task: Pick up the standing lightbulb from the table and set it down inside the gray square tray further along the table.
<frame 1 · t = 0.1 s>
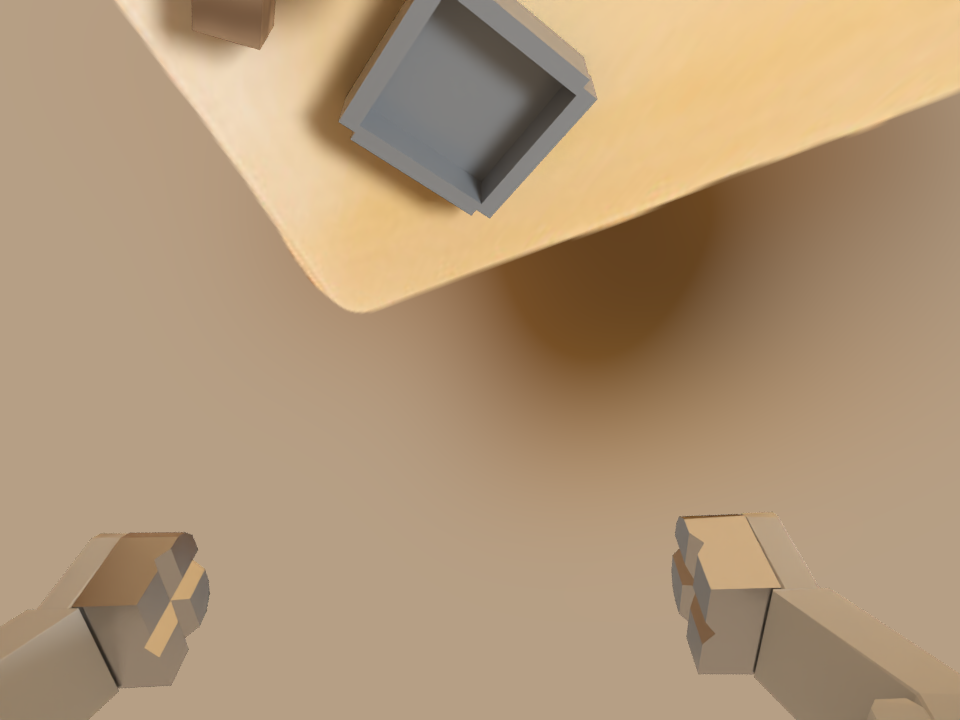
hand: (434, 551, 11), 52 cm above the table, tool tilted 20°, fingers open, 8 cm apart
gray square tray: (466, 86, 58), on the table
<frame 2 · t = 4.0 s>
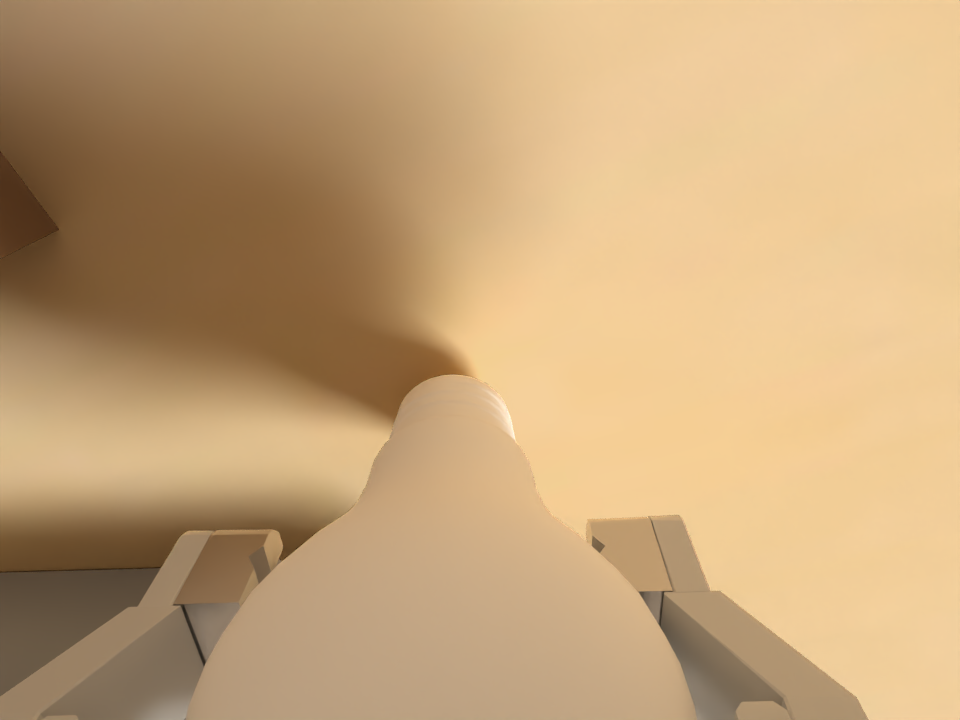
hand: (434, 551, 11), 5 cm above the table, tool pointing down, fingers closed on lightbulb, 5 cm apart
lightbulb: (454, 399, 15), on the table, touching gripper
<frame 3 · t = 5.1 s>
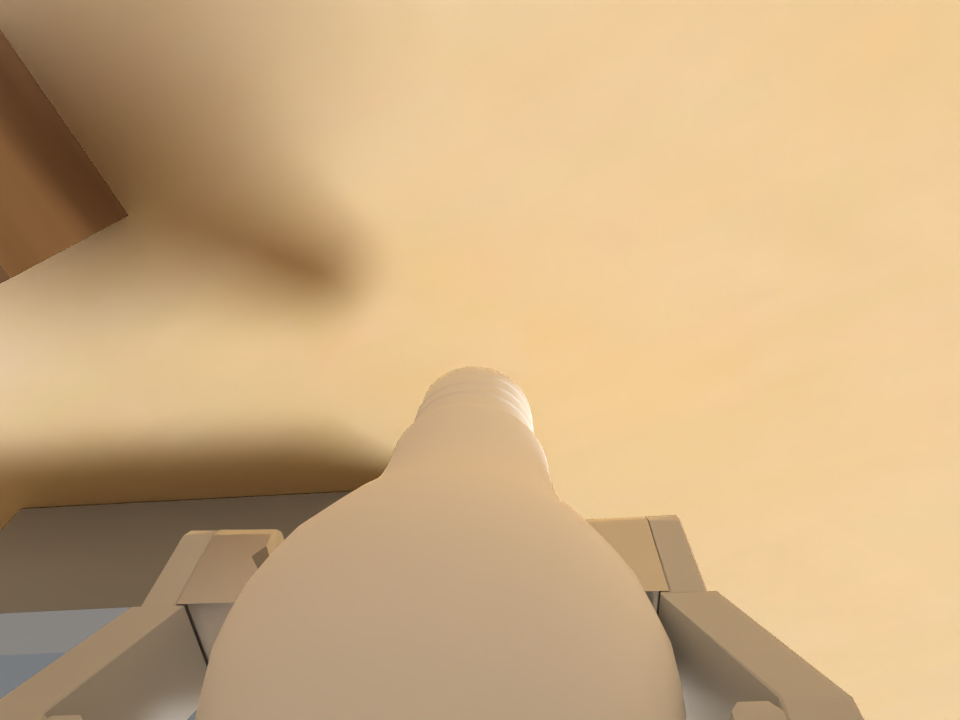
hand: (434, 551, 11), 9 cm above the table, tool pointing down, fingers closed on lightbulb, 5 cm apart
lightbulb: (478, 392, 16), point 3 cm above the table, touching gripper
gray square tray: (286, 664, 25), on the table
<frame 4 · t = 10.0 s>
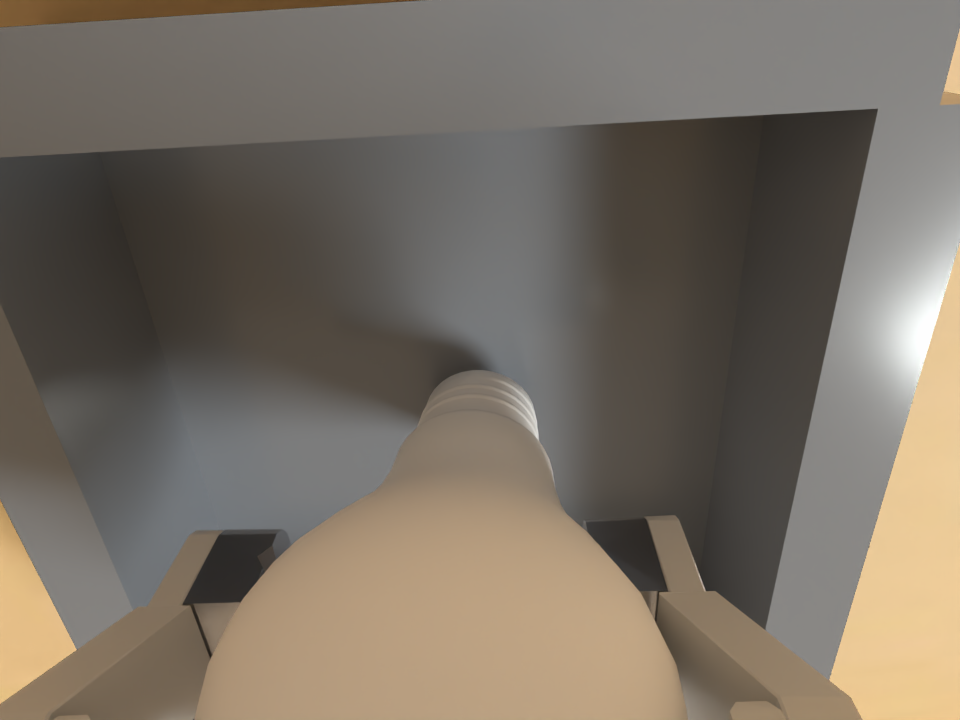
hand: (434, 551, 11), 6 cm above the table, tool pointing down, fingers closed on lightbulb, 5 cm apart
lightbulb: (482, 394, 16), resting on gray square tray, touching gripper
gray square tray: (449, 381, 16), on the table
when the fingers open (6 cm above the table, at t = 10.4 s): lightbulb stays where it is, resting on gray square tray.
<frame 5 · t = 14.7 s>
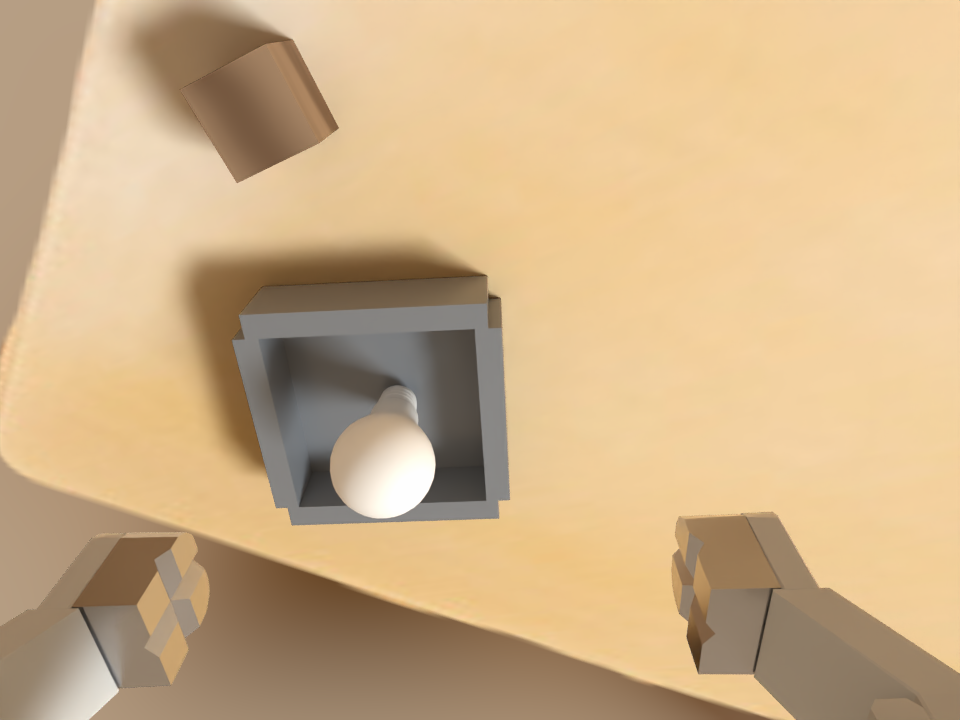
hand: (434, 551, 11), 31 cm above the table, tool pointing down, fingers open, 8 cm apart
lightbulb: (400, 393, 45), resting on gray square tray
gray square tray: (389, 389, 46), on the table
walnut block: (279, 104, 37), on the table
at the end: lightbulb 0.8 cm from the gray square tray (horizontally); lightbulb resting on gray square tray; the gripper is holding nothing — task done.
